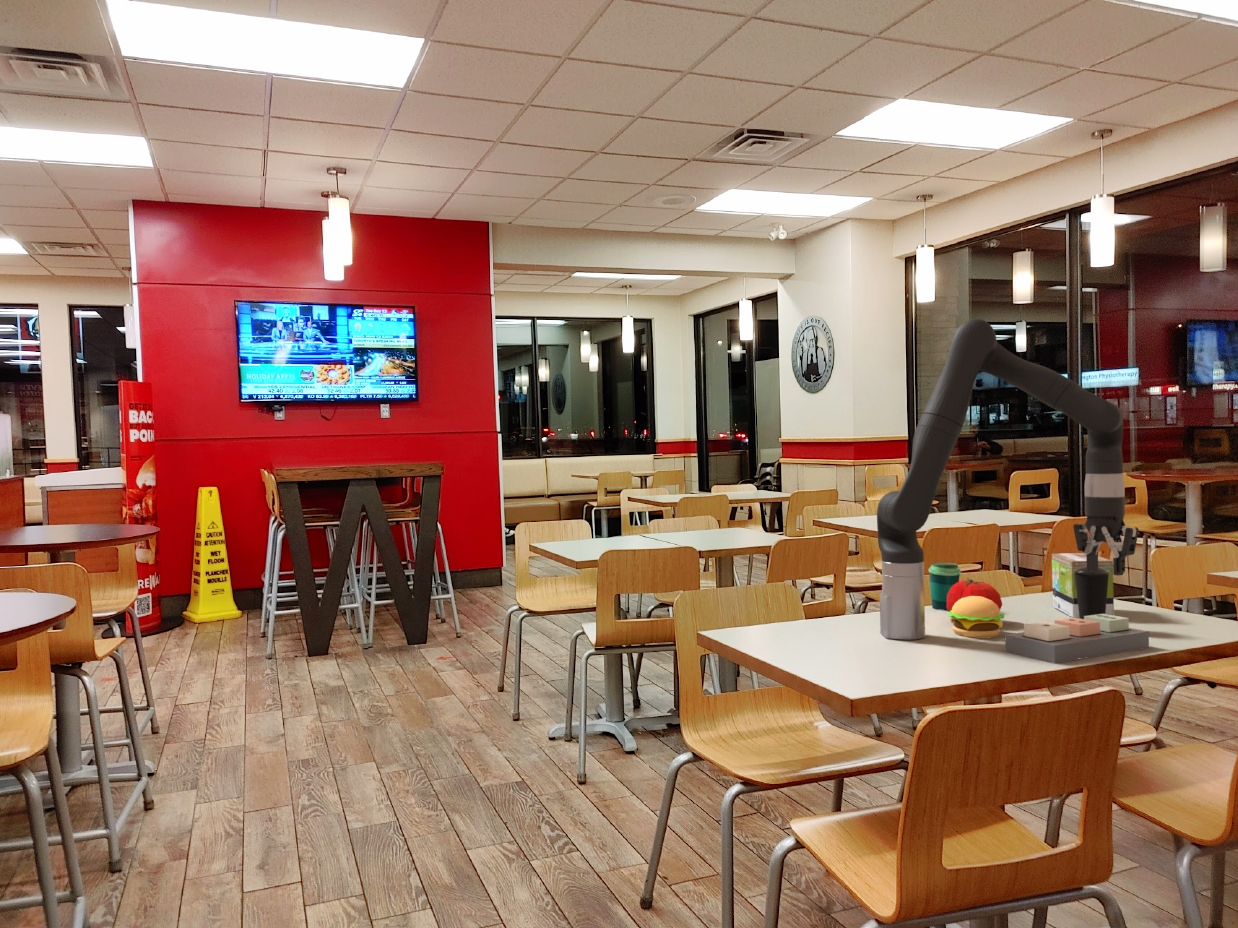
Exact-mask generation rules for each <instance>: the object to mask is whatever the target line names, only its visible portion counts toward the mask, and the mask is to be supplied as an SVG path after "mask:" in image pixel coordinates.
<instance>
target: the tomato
mask: <svg viewBox="0 0 1238 928" xmlns="http://www.w3.org/2000/svg"><path fill="white" fill-rule="evenodd" d="M968 596H981V597H984V598H987V599H989V600H992V601H993V602H994V603H995V604H997V606H998V608H999V609H1000V610H1001V609H1002V606H1003V601H1002V598H1001V594H1000V593H999V592H998V591H997V589H996V588H995V587H994V586H992V585H990V583H986V582H982V581H974V580H973V579H970V578H968V577H966V580H959V582H958V583H956V584H954V585H953V586H952V587H951V589H950V590H949V592H948V594H947V609H948V610H947V611H948V612H947V613H949V612H950V611H951V610H952V607H953V606H954V604H955V603H956V602H957V601H958V600H960V599H962V598H965V597H968Z"/></svg>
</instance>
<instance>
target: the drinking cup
mask: <svg viewBox="0 0 1238 928" xmlns="http://www.w3.org/2000/svg"><path fill="white" fill-rule="evenodd" d="M1073 573H1074V574H1075V583H1076V592H1077V601H1078V609H1079V619H1084V616H1090V615H1097V614H1105V612H1106V601H1107V589H1108V578H1109V574H1110V571H1108V570H1105V569H1104V568H1101V567H1098V572H1089V571H1088V569H1087V566H1082V567H1079V568H1077V569H1074V570H1073Z"/></svg>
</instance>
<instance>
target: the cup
mask: <svg viewBox="0 0 1238 928" xmlns="http://www.w3.org/2000/svg"><path fill="white" fill-rule="evenodd" d="M928 572H929V586H930V587H929V589H930V598H931V606H932V608H933V609H934V610H937V611H938V610H939V611H948V609H947V594H948V592H949V590H950V589H951V587H952V586H953V585H954V584H956V583H958V582H960V575H961V574H962V570H961V569H960V568H959V565H958V564H957V563H954V562H953V563H952V562H935V563H932V564H931V566H930V567H929V568H928Z"/></svg>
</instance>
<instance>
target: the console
mask: <svg viewBox="0 0 1238 928" xmlns="http://www.w3.org/2000/svg"><path fill="white" fill-rule="evenodd" d="M1004 635H1005V652H1007V653H1011V654H1015V655H1019V656H1024V657H1027V658H1031V659H1035V660H1038V661H1039V660H1040V661H1044V662H1048V663H1052V664H1059V663H1064V662H1070V661H1069V660H1072V661H1076V660H1075V659H1078V658H1084V659H1086V658H1085V657H1090V658H1094V657H1093V656H1096V657H1100V656H1099V655H1102V656H1109V655H1114V654H1120V652H1121V653H1125V652H1126V653H1127V652H1131V651H1132V652H1133V651H1137V650H1145V649H1149V648H1150V633H1149V630H1142V629H1137V628H1133V627H1129V629H1128V630H1121V631H1114V632H1106V631H1101V630H1100V634H1094V635H1088V636H1081V637H1079V636H1074V635H1070V638H1067V639H1061V640H1054V641H1045V640H1041V639H1036V638H1032V637H1027V636H1024V631H1022V632H1013V633H1008V634H1004ZM1078 660H1079V659H1078Z"/></svg>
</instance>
